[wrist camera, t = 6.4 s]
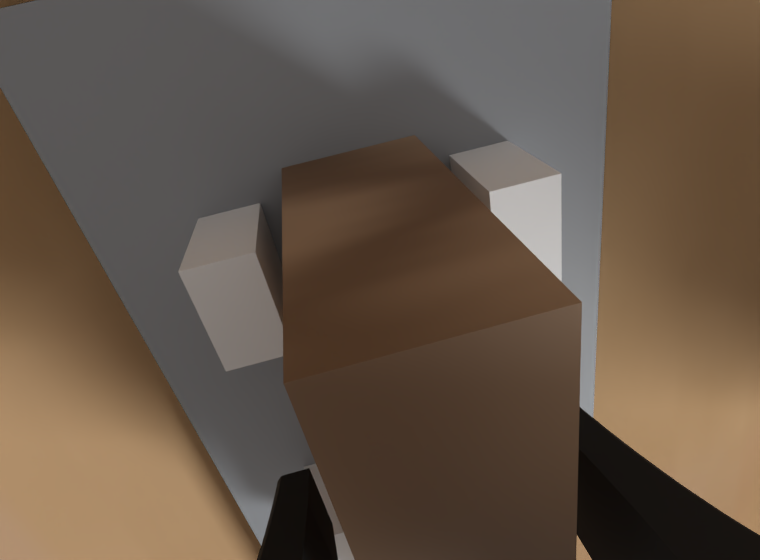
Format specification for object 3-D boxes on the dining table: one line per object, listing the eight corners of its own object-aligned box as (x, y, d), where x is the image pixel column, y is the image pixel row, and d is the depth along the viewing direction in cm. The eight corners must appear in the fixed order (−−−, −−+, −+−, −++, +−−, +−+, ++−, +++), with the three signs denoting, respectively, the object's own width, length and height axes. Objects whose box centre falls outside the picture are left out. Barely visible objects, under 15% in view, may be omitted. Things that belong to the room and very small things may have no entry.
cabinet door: (449, 126, 11) (659, 281, 5) (491, 471, 17) (605, 726, 11) (281, 167, 11) (283, 383, 5) (384, 501, 17) (443, 779, 11)
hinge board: (583, -117, 10) (722, -172, 7) (573, 486, 20) (627, 575, 17) (-6, 15, 9) (-149, 22, 6) (291, 568, 20) (293, 677, 17)
